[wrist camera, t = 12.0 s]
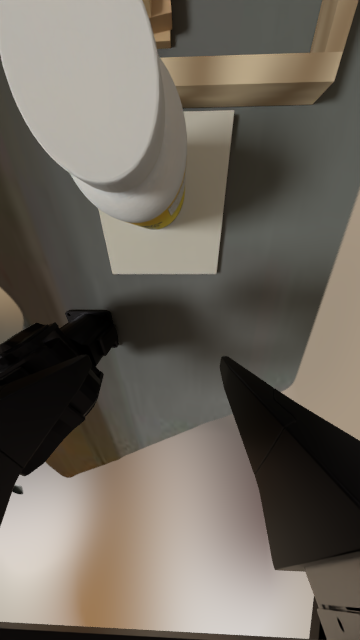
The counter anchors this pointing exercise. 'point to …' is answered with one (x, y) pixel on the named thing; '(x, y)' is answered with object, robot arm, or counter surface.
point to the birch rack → (267, 69)
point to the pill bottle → (100, 102)
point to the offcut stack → (160, 21)
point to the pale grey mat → (182, 209)
